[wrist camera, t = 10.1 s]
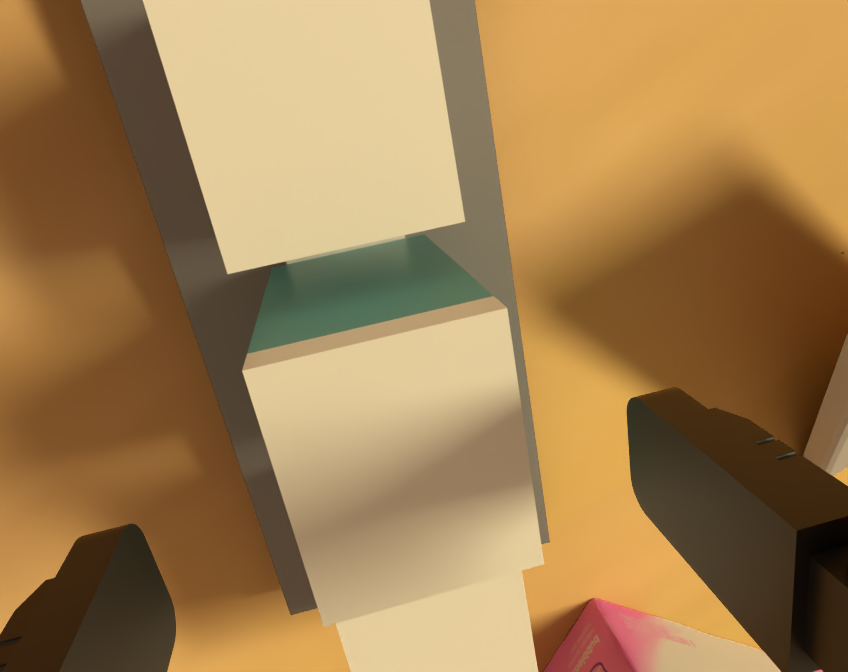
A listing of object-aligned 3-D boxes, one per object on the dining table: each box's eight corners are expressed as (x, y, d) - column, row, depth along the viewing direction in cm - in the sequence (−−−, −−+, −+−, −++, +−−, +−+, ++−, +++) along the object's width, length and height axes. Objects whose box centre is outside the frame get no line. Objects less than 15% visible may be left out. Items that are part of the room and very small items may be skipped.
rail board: (74, -66, 16) (-102, -214, 9) (442, -124, 17) (529, -297, 10) (292, 586, 23) (284, 769, 17) (535, 518, 24) (621, 665, 18)
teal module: (271, 267, 17) (242, 370, 10) (424, 234, 18) (507, 307, 10) (318, 433, 19) (324, 626, 12) (455, 399, 20) (544, 564, 12)
